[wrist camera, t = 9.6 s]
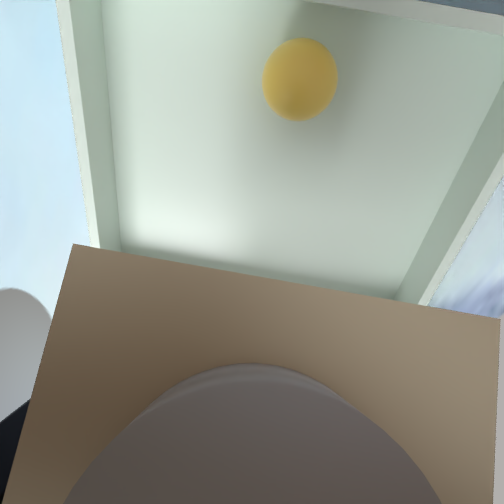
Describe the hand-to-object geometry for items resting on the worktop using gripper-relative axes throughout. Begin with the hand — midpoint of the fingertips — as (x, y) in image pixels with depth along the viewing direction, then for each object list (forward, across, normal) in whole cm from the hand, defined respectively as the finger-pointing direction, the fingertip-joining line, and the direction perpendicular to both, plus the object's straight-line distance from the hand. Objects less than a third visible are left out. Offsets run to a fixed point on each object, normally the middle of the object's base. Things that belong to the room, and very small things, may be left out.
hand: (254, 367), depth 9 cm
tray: (+12, 0, 0) cm, 12 cm away
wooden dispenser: (+4, 0, +6) cm, 7 cm away
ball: (+10, 0, -5) cm, 11 cm away
